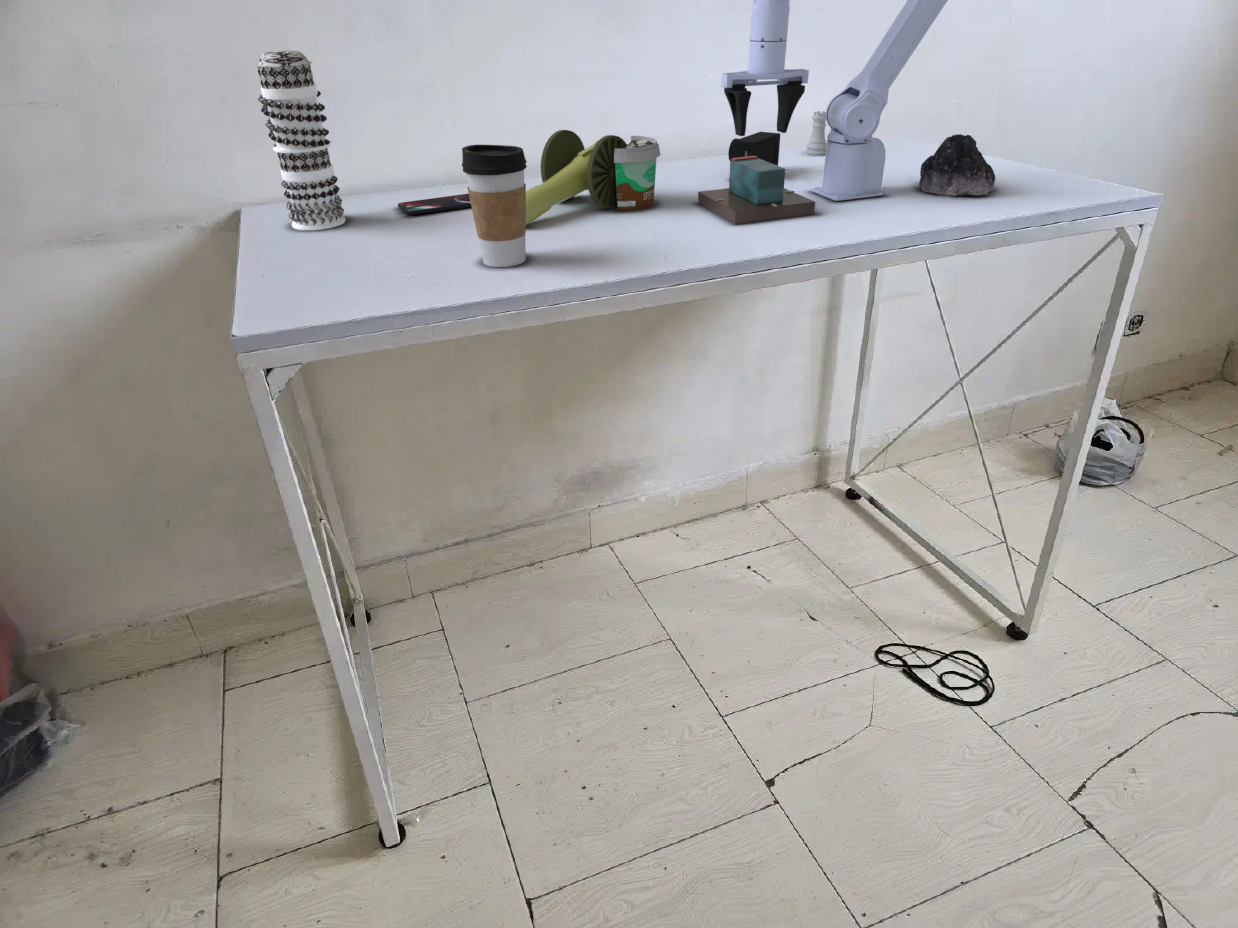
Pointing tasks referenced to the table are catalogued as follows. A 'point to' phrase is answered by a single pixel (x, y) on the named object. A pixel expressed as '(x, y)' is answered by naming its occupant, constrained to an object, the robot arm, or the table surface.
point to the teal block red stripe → (756, 180)
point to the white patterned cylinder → (299, 140)
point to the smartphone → (435, 204)
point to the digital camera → (757, 147)
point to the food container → (636, 173)
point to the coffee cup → (498, 201)
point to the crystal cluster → (957, 169)
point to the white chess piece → (817, 135)
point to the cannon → (574, 172)
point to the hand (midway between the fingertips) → (761, 133)
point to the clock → (754, 206)
